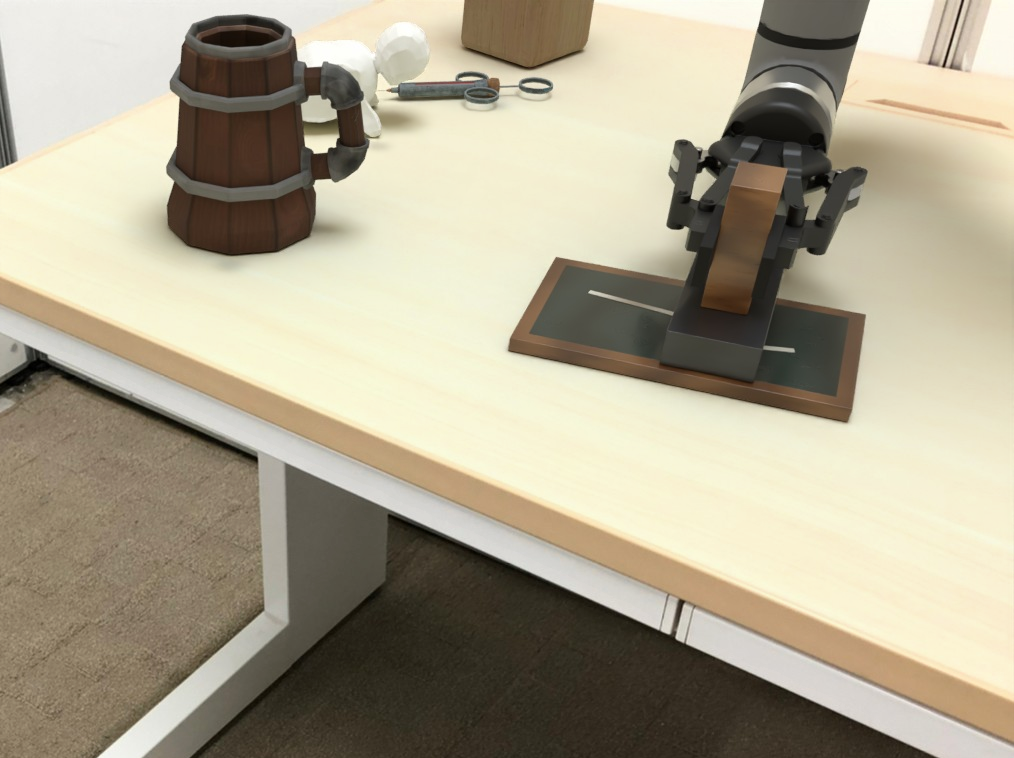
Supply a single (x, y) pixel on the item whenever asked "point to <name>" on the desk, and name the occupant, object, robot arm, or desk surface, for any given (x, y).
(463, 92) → the syringe
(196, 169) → the mug
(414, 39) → the white animal figurine
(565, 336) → the chalkboard
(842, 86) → the robot arm
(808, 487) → the desk surface
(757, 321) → the eraser
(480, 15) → the wooden block
